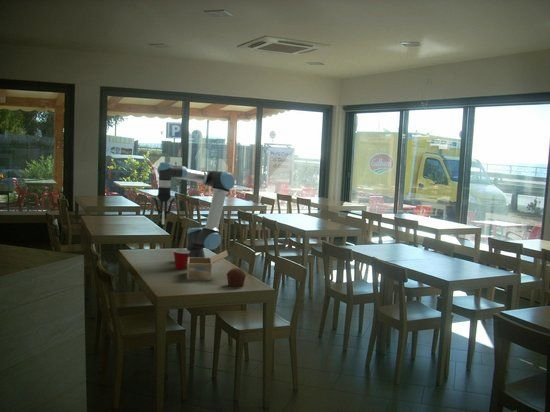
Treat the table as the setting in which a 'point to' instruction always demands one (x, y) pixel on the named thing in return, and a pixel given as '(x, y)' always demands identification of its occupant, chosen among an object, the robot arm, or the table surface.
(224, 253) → the flap
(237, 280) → the muffin
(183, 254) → the plastic cup
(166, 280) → the table surface
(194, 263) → the light wood open box
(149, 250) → the table surface
